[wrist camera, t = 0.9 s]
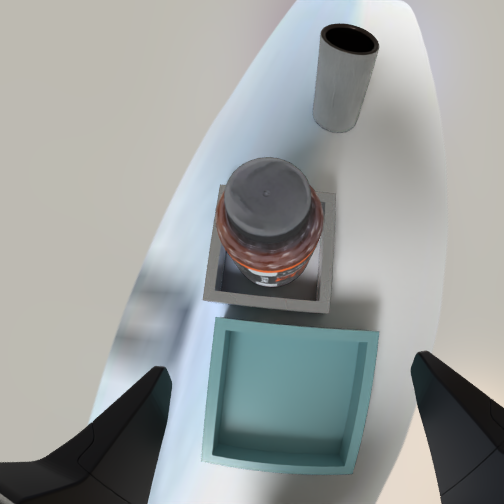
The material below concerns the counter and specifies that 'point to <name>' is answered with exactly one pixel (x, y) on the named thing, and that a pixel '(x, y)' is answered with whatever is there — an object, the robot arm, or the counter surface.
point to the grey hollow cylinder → (342, 75)
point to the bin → (287, 397)
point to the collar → (319, 306)
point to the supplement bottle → (269, 221)
